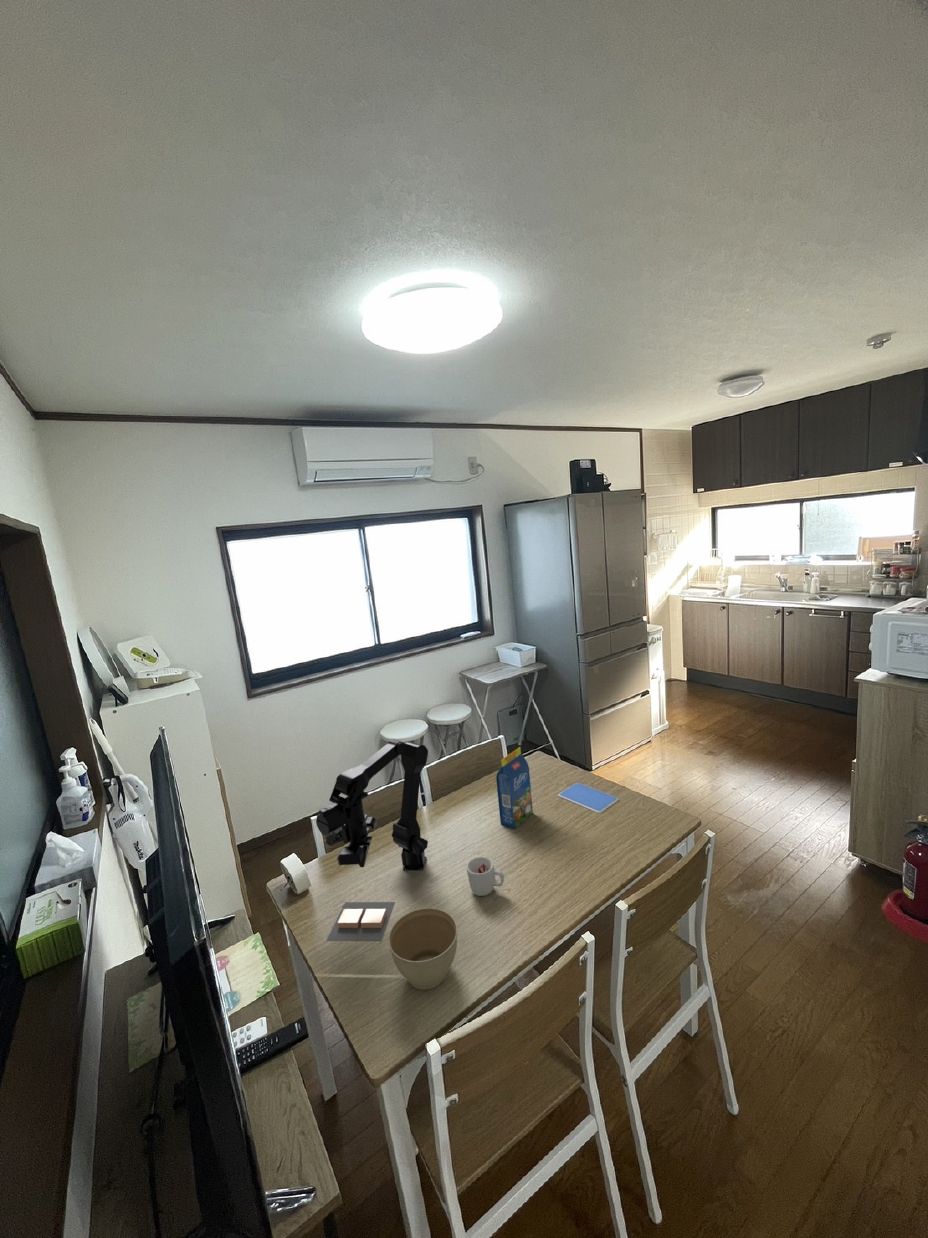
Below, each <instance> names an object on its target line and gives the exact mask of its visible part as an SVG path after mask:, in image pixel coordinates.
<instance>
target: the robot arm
mask: <svg viewBox="0 0 928 1238" xmlns="http://www.w3.org/2000/svg"><path fill="white" fill-rule="evenodd" d="M398 756H400V763H401V766H402V767H403V770H404V777H403V787H402V800H401V810H400V818H399V819H398V821H397V822H396V823H393V825H392V833H391V837H392V841H393V843H395V845H397V846H398V847H399V848H402V849H401V853H400V856H401V862H402V863H401V864H402V866H403V869H402V870H403V871H406V872H407V871H409V872H410V871H424V867H425V866H426V862H427V859H428V857H427V856H425V855H426V854H425V850H426V849H427V848H428V844H429V841H428V840H427V839H425V838H423V837H422V836H421V827H420V824H419V823H418V819H417V816H418V804H419V803H418V802H419V792H420V782H421V781H420V780H421V774H422V771H423V769H424V768H425V767H426V766H427V760H428V756H429V749H428V748H427V746H426V745H424V744H420V743H416V742H413V741H406V742H405V743H404V742H403V741H400V740H396V739H390V740H388V741H387V743H386V744H385V745H384V746H383V747H381V748H380V749H379V750H378V751H376V752H375V753H374V754H372V755H371V756H370V757H368V759H365V761H364V762H362V763H361V764H359V765H358V766H355V767H352V768H348V769H346V770H344V771H343V772H341V773H339V775H337V776H336V779H335V780H336V781H335V784H334V786H333V789H332V792H331V794H330V797H329V802H331V804H330V805H327V806H326V807H323V808H321V809H319V810H318V815H317V816H316V820H315V823H316V827H317V829H318V831H319V832H320V834H322V835H323V836H325V838H324V839H325V844H327V845H328V847H332V846H333V847H334V846H335V845H337V844H338V843H341V842H343V844H348V846H343V847H342V848H341V849H340V851H339V853H338V856H337V857H336V859H337V864H338V865H339V866H348V865H349V866H350V865H353V866H354V865H359V867H360V868H365V865H366V862H367V857H368V853H369V850H370V847H371V843H372V839H373V836H368V835H369V833H370V827H371V830H373V831H375V830H376V828H377V826H378V822H377V818H375V817H374V816H368V814H366V813H365V808H364V801H363V800H364V799H365V798H367V797H369V792H365V790H366V789H367V787H368V786H369V783H370V780H371V779H372V778H374V776H376V775H377V774H378V773H379V772H381V771H382V770H383V769H384V768H385V767H386V766H388V765H389V764H390V763H391V762H393V761H394V760H395V759H397V757H398ZM341 794H342V795H344V796H346V797H343V796H341Z"/></svg>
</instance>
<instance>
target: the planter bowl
mask: <svg viewBox="0 0 928 1238" xmlns="http://www.w3.org/2000/svg"><path fill="white" fill-rule="evenodd" d="M457 944H458V926H457V923H456V921H455V919H454V917H453V916H452V915H450V914H449V913H448V912H446V911H445V910H442V909H439V908H434V907H433V908H432V907H425V908H424V907H423V908H418V909H415V910H412V911H410V912H408V913H406V914H404V915H402V916H401V917H399V919H398V920H396V922H394V924H393V925H392V927H391V928H390V930H389V934H388V947H389V950H390V952H391V953H390V954H391V957H392V961H393V963H394V965H395V967H396V969H397V970H398V972H399V973H400V974H401V976H403V978H404V979H405V980H407V981H408V983H409V984H410V985H411V986H412V987H414V989H418V990H422V991H425V990H431V989H434V988H436V987H439V985H441V983H443V981H445V979H446V977H447V974H448V972H449V970H450V968H451V967H452V964H453V963H454V959H455V957H456V954H457V946H458V945H457Z"/></svg>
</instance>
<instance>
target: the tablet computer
mask: <svg viewBox="0 0 928 1238" xmlns="http://www.w3.org/2000/svg"><path fill="white" fill-rule="evenodd" d="M557 796H558V797H559V798H561V799H565V800H566V801H569V802H572V803H573V804H576V805H579V806H581V807H584V808H585V809H588V810H590V811H593V812H595V813H596V814H602V813H603V812H605V811H606V810H607V809H609V808H610V807H612V806H613V805H615V804H616V803H618V802H619V800H620V799H619V797H618V796H617V797H616V796H614V795H612V794H609V793H606V792H604V791H601V790H598V789H595V788H593V787H590V786H588V785H586V784H585V785H584V784H583V783H580V782H576V783H574V784H572V785H571V786H569V787H568V788H565V790H563V791H561V792H559V793H558V795H557Z"/></svg>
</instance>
